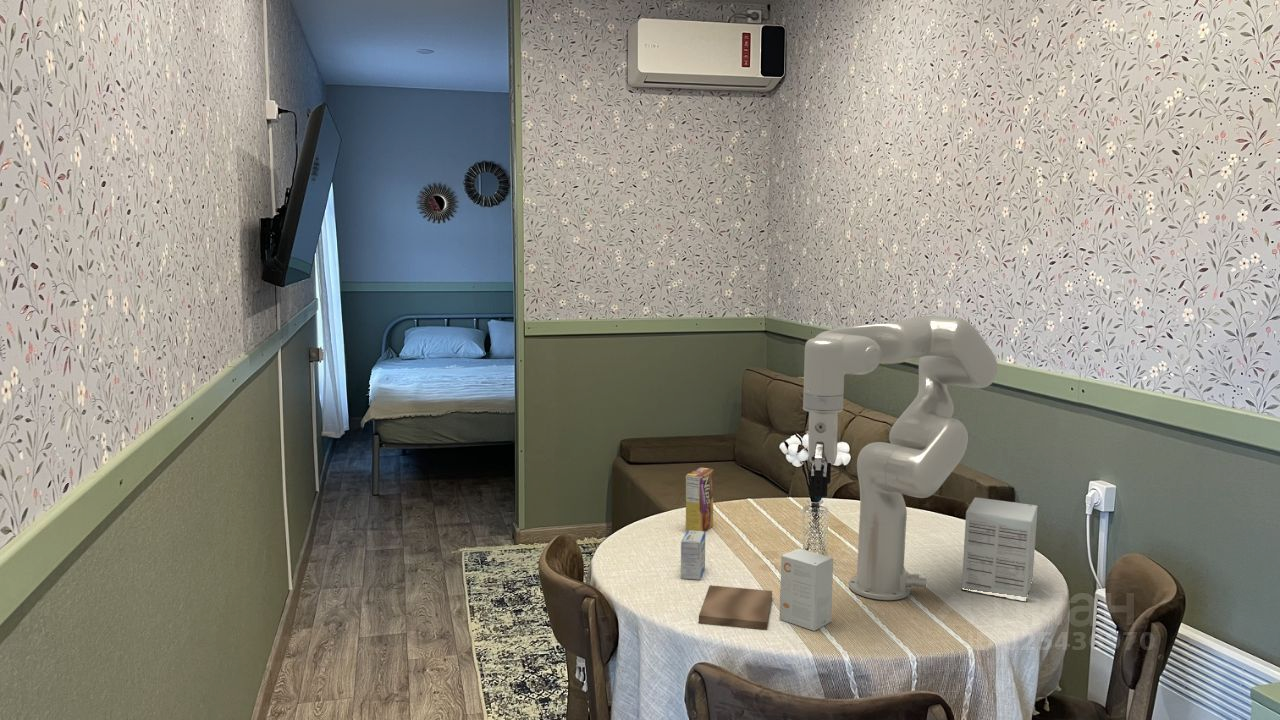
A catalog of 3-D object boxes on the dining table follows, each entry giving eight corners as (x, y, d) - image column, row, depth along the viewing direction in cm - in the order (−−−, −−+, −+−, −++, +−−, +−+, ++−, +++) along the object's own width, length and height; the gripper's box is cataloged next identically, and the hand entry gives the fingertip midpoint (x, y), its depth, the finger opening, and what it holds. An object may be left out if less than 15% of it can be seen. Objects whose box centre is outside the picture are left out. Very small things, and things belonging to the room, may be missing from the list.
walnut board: (772, 597, 186) (772, 590, 185) (766, 629, 170) (767, 622, 170) (709, 592, 188) (709, 585, 188) (698, 623, 173) (698, 615, 173)
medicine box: (700, 580, 195) (701, 542, 194) (680, 579, 196) (680, 540, 195) (705, 568, 202) (706, 530, 201) (685, 566, 203) (686, 529, 202)
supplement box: (969, 571, 203) (974, 496, 200) (1033, 582, 196) (1038, 504, 194) (959, 591, 191) (964, 511, 189) (1027, 603, 185) (1032, 520, 183)
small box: (831, 622, 174) (834, 557, 172) (814, 632, 169) (816, 565, 168) (796, 610, 180) (798, 547, 178) (778, 619, 175) (780, 555, 173)
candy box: (698, 523, 235) (699, 466, 233) (713, 526, 233) (715, 468, 231) (684, 533, 227) (685, 474, 225) (699, 536, 225) (701, 476, 223)
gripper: (840, 411, 163) (837, 503, 165) (845, 396, 180) (842, 479, 182) (798, 409, 165) (796, 500, 167) (807, 394, 182) (804, 476, 184)
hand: (820, 489), depth 175 cm, fingers open, 9 cm apart
